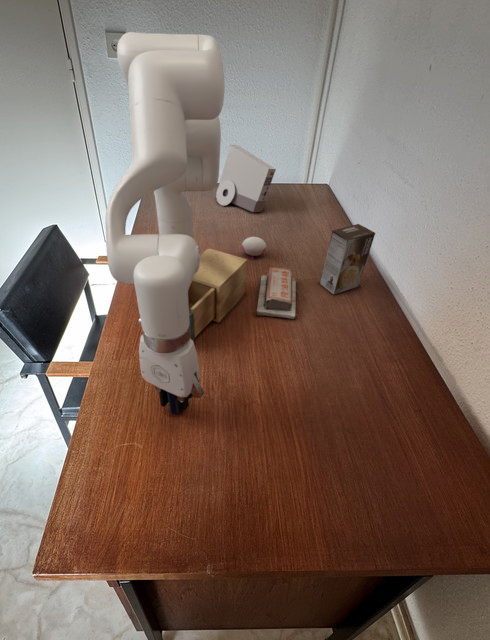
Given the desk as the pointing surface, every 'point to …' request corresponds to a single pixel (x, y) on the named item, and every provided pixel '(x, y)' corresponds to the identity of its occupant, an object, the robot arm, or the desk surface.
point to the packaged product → (277, 294)
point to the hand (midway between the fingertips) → (174, 404)
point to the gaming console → (244, 180)
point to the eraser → (172, 402)
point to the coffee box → (346, 258)
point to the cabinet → (223, 278)
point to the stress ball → (254, 246)
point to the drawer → (200, 307)
